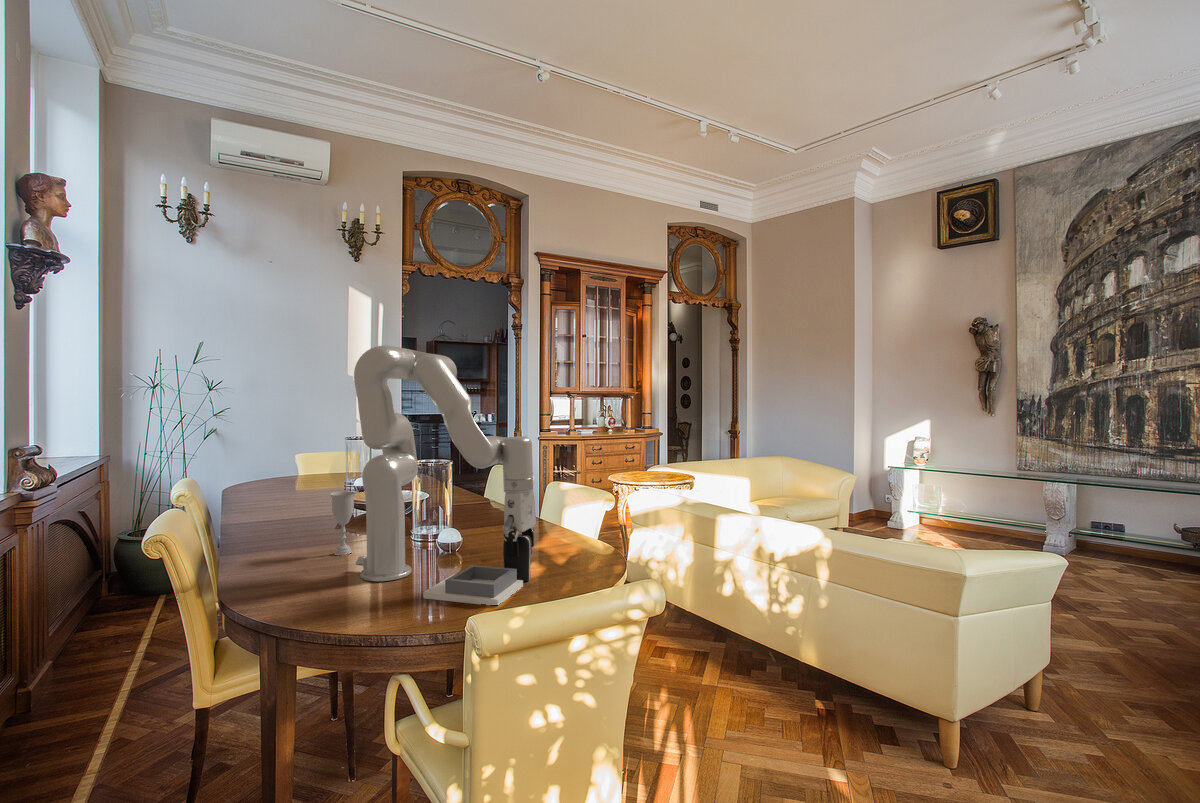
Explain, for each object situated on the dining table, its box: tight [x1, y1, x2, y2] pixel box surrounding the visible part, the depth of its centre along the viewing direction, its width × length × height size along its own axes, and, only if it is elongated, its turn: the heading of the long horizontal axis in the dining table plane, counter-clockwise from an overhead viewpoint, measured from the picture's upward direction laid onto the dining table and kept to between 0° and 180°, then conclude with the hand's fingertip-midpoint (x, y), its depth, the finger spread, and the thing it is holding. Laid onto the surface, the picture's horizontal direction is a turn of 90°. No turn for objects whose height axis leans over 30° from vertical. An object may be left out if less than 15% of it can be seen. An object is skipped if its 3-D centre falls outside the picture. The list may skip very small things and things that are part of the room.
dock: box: [422, 564, 524, 606], centre depth 143 cm, size 19×14×4 cm
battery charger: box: [502, 533, 533, 582], centre depth 153 cm, size 7×4×11 cm, turn 81°
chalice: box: [329, 490, 356, 554], centre depth 177 cm, size 7×7×18 cm
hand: (520, 551), depth 153 cm, fingers open, 9 cm apart
